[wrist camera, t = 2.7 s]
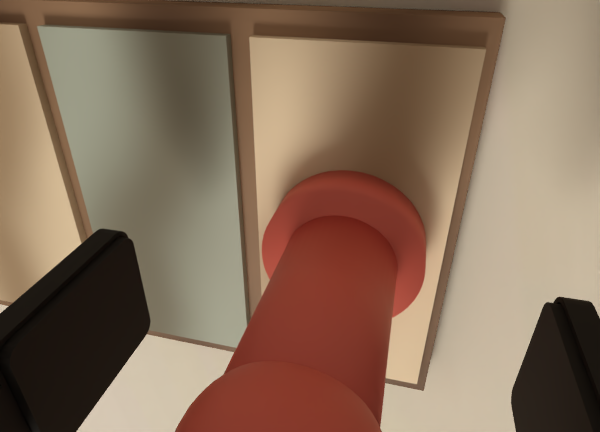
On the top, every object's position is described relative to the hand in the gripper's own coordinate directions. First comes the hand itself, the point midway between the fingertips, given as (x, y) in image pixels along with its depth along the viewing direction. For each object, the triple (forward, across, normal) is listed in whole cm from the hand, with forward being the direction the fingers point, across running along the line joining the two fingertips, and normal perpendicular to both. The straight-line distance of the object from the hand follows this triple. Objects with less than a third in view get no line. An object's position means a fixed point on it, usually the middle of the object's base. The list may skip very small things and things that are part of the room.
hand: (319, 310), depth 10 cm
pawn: (+3, 0, 0) cm, 3 cm away
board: (+5, +12, 0) cm, 13 cm away
